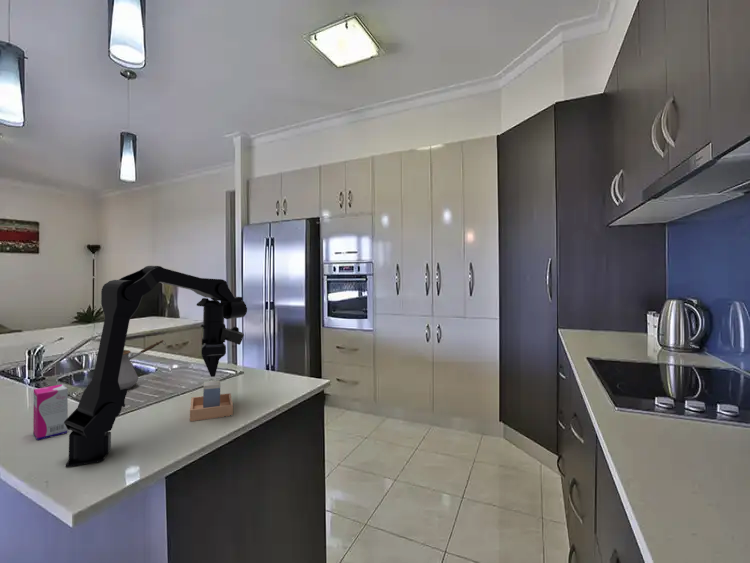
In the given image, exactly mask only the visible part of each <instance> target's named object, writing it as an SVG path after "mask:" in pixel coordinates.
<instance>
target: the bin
mask: <svg viewBox="0 0 750 563" xmlns="http://www.w3.org/2000/svg"><path fill="white" fill-rule="evenodd" d="M232 399H233V398H232V393H220V406H216V407H208V408H203V396H193V397H191V398H190V405H189V406H190V407H189V422H196V421H204V420H212V419H218V417H219V418H225V417H224V416H226V417H231V416H230V415H233V416H234V403H233V400H232Z"/></svg>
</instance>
